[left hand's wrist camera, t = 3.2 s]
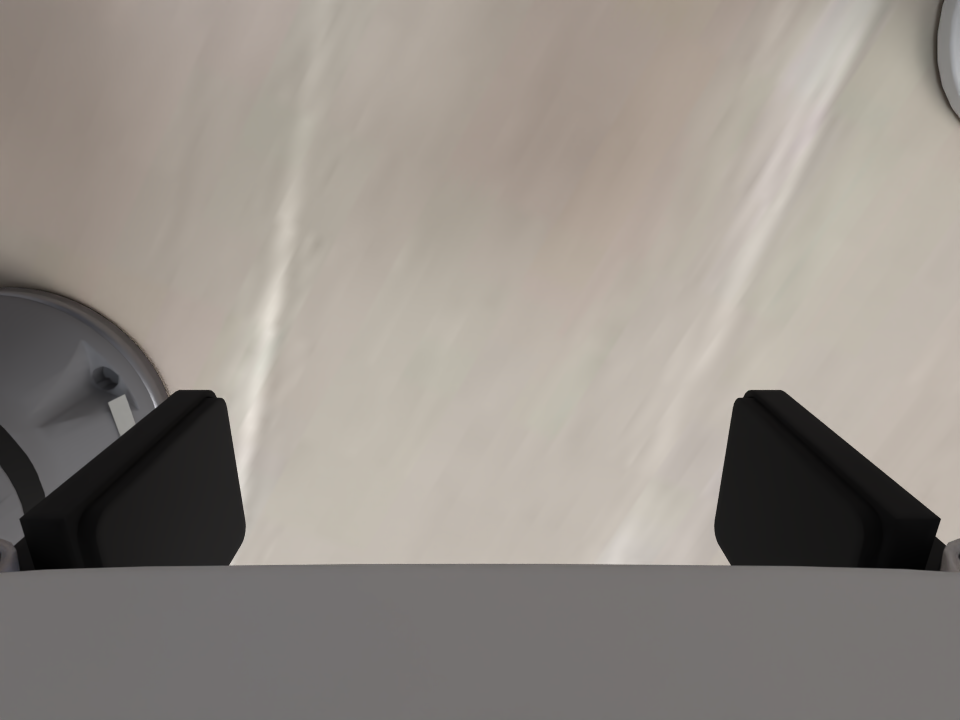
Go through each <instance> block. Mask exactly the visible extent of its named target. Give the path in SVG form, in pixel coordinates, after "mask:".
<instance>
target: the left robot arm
mask: <svg viewBox="0 0 960 720" xmlns="http://www.w3.org/2000/svg"><path fill="white" fill-rule="evenodd" d="M937 62H938V67H939V72H940V77H941V82H942V87H943V89H944V91H945V94H946V96H947V98H948V100H949V103H950V105H951V107H952V109H953V110H954V111H955V113H956V114H957V115H958V117H959V118H960V0H944V3H943V6H942V12H941V18H940V23H939V29H938V38H937ZM19 520H20V523H21V526H22V530H23V533H24V536H25V537H23V538H22V539H21V540H20V541H19V542H18V543H16V544H15V545H14V546H13V544H12V543H11V542H9V541H6V540H3V539H0V720H960V539H957V540H954V541H951V542H949V543H948V544H947V546H946V545H945V544H944V543H942V542H941V541H940V540H939V539H938V538H937V537H935V536H936V533H937V530H938V526H939V523H940V520H941V519H940V518H939V517H938V516H937V515H935V514H934V513H933V512H932V511H931V510H929V509H928V508H927V507H926V506H924V505H923V504H922V503H921V502H919V501H918V500H917V499H916V498H915V497H913V496H912V495H911V494H910V493H908V492H907V491H906V490H905V489H903V488H902V487H901V486H900V485H899V484H897V483H896V482H895V481H894V480H892V479H891V478H890V477H889V476H888V475H886V474H885V473H884V472H883V471H881V470H880V469H879V468H878V467H876V466H875V465H874V464H873V463H872V462H870V461H869V460H868V459H867V458H865V457H864V456H863V455H862V454H860V453H859V452H858V451H857V450H856V449H854V448H853V447H852V446H851V445H849V444H848V443H847V442H846V441H844V440H843V439H842V438H841V437H840V436H838V435H837V434H836V433H835V432H833V431H832V430H831V429H830V428H828V427H827V426H826V425H825V424H824V423H822V422H821V421H820V420H819V419H817V418H816V417H815V416H814V415H812V414H811V413H810V412H809V411H808V410H806V409H805V408H804V407H803V406H801V405H800V404H799V403H798V402H796V401H795V400H794V399H793V398H792V397H790V396H789V395H788V394H787V393H785V392H784V391H782V390H749V391H747V392H746V393H745V395H744V397H743V398H738V399H736V401H735V403H734V406H733V411H732V417H731V423H730V429H729V436H728V442H727V448H726V454H725V460H724V467H723V473H722V479H721V485H720V491H719V498H718V504H717V510H716V516H715V524H714V529H715V536H716V540H717V542H718V544H719V546H720V548H721V549H722V551H723V553H724V554H725V556H726V558H727V559H728V561H729V563H730V564H731V566H720V565H603V564H336V565H243V566H229V564H230V563H231V561H232V559H233V558H234V556H235V554H236V553H237V551H238V549H239V548H240V546H241V544H242V542H243V540H244V536H245V529H246V524H245V516H244V510H243V504H242V498H241V491H240V485H239V479H238V473H237V467H236V460H235V454H234V448H233V442H232V436H231V429H230V423H229V417H228V411H227V406H226V403H225V401H224V399H222V398H217V397H216V395H215V393H214V392H213V391H211V390H178V391H176V392H175V393H173V394H172V395H171V396H170V397H168V398H167V399H166V400H165V401H164V402H162V403H161V404H160V405H159V406H157V407H156V408H155V409H154V410H152V411H151V412H150V413H149V414H148V415H146V416H145V417H144V418H143V419H141V420H140V421H139V422H138V423H136V424H135V425H134V426H133V427H132V428H130V429H129V430H128V431H127V432H125V433H124V434H123V435H122V436H120V437H119V438H118V439H117V440H116V441H114V442H113V443H112V444H111V445H109V446H108V447H107V448H106V449H104V450H103V451H102V452H101V453H100V454H98V455H97V456H96V457H95V458H93V459H92V460H91V461H90V462H88V463H87V464H86V465H85V466H84V467H82V468H81V469H80V470H79V471H77V472H76V473H75V474H74V475H72V476H71V477H70V478H69V479H68V480H66V481H65V482H64V483H63V484H61V485H60V486H59V487H58V488H57V489H55V490H54V491H53V492H52V493H50V494H49V495H48V496H47V497H45V498H44V499H43V500H42V501H41V502H39V503H38V504H37V505H36V506H34V507H33V508H32V509H31V510H29V511H28V512H27V513H26V514H25V515H23V516H22V517H21V518H20V519H19Z"/></svg>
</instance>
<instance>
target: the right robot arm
mask: <svg viewBox="0 0 960 720" xmlns="http://www.w3.org/2000/svg"><path fill="white" fill-rule="evenodd" d="M167 398H168V395H167V393H166V390H165V388H164V385H163V383H162V381H161V379H160V377H159V375H158V374H157V372H156V370H155V369H154V367H153V365H152V364H151V363H150V361H149V360H148V359H147V357H146V356H145V354H144V353H143V352H142V351H141V350H140V349H139V347H138V346H137V345H136V344H135V343H134V342H133V341H132V340H131V339H130V338H129V337H128V336H127V335H126V334H125V333H124V332H122V331H121V330H120V329H119V328H118V327H116V326H115V325H114V324H113V323H111V322H110V321H108V320H107V319H106V318H104V317H103V316H101V315H100V314H98V313H96V312H95V311H93V310H91V309H89V308H87V307H85V306H83V305H81V304H79V303H77V302H75V301H73V300H70V299H68V298H65V297H62V296H59V295H56V294H53V293H49V292H45V291H40V290H35V289H28V288H14V287H5V288H0V539H3V540H6V541H9V542H11V543H12V544H13V546H14V545H15V544H16V543H18V542H19V541H20V540H21V539H22V538H23V537H25V536H24V533H23V530H22V526H21V523H20V520H19V519H20V518H21V517H22V516H23V515H25V514H26V513H27V512H28V511H29V510H31V509H32V508H33V507H34V506H36V505H37V504H38V503H39V502H41V501H42V500H43V499H44V498H45V497H47V496H48V495H49V494H50V493H52V492H53V491H54V490H55V489H57V488H58V487H59V486H60V485H61V484H63V483H64V482H65V481H66V480H68V479H69V478H70V477H71V476H72V475H74V474H75V473H76V472H77V471H79V470H80V469H81V468H82V467H84V466H85V465H86V464H87V463H88V462H90V461H91V460H92V459H93V458H95V457H96V456H97V455H98V454H100V453H101V452H102V451H103V450H104V449H106V448H107V447H108V446H109V445H111V444H112V443H113V442H114V441H116V440H117V439H118V438H119V437H120V436H122V435H123V434H124V433H125V432H127V431H128V430H129V429H130V428H132V427H133V426H134V425H135V424H136V423H138V422H139V421H140V420H141V419H143V418H144V417H145V416H146V415H148V414H149V413H150V412H151V411H152V410H154V409H155V408H156V407H157V406H159V405H160V404H161V403H162V402H164V401H165V400H166V399H167Z"/></svg>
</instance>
